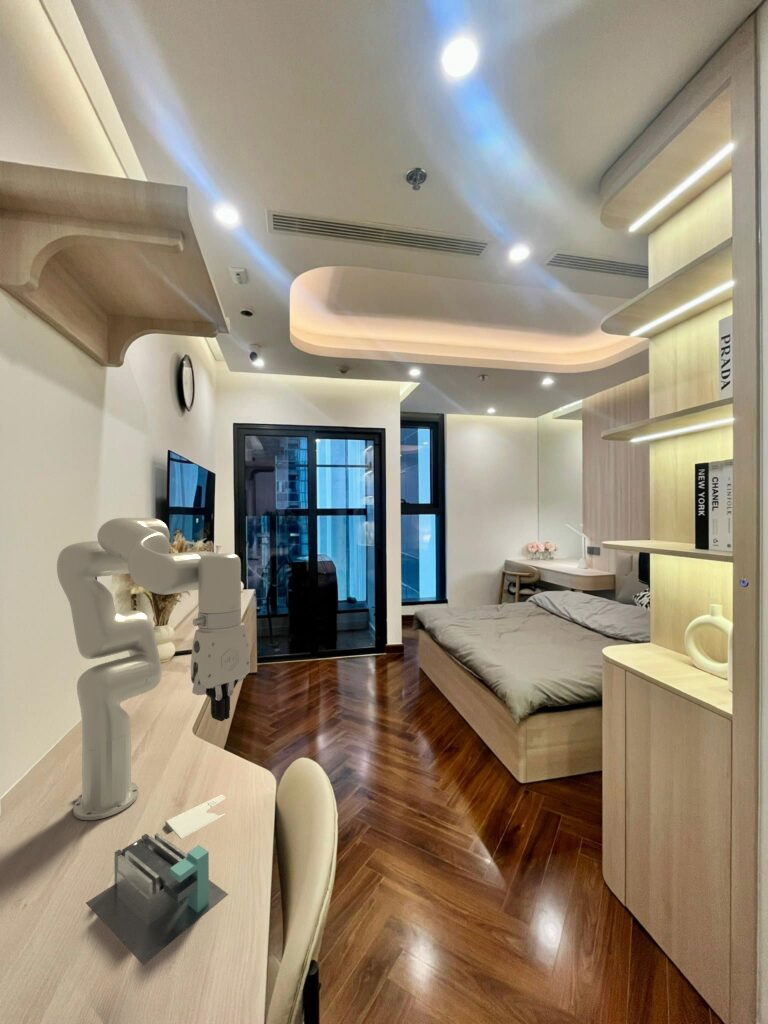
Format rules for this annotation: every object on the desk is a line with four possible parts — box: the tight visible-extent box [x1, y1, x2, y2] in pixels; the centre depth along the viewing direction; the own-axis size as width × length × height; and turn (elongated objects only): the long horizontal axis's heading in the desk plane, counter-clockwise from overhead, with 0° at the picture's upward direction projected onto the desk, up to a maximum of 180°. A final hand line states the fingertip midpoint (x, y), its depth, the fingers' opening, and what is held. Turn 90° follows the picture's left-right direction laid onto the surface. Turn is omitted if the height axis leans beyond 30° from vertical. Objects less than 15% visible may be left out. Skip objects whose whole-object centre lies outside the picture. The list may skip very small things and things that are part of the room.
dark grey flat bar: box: [121, 838, 197, 902], centre depth 73 cm, size 18×3×1 cm, turn 56°
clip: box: [170, 844, 210, 913], centre depth 70 cm, size 3×5×8 cm, turn 146°
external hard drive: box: [164, 794, 227, 840], centre depth 94 cm, size 2×8×12 cm
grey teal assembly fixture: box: [85, 832, 229, 965], centre depth 73 cm, size 18×14×7 cm
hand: (220, 717), depth 82 cm, fingers closed
